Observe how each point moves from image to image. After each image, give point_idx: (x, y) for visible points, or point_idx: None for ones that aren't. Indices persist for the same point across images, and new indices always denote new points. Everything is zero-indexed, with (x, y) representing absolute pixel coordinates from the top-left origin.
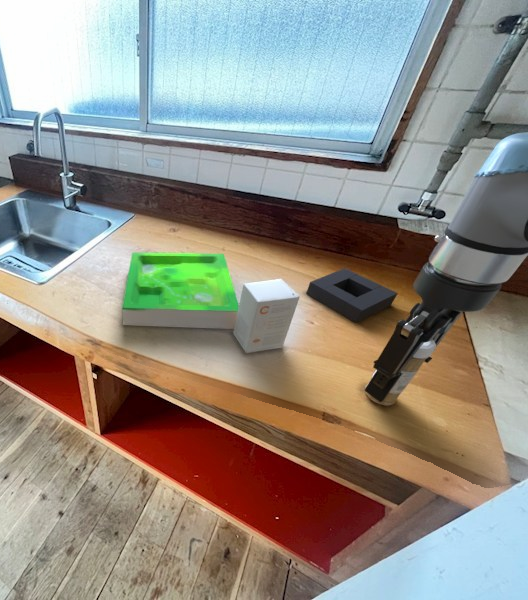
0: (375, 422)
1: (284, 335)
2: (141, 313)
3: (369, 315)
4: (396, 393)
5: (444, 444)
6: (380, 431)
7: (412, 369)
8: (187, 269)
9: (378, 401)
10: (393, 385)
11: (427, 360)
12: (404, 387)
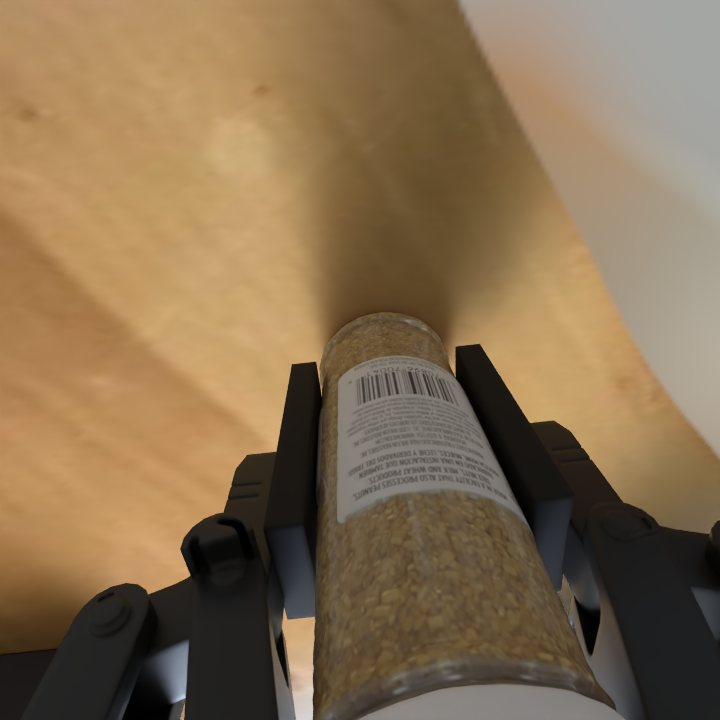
0: (539, 272)
1: None
2: None
3: (13, 658)
4: (424, 360)
5: (359, 34)
6: (569, 229)
7: (488, 525)
8: None
9: (443, 347)
10: (503, 419)
11: (237, 540)
12: (408, 381)
